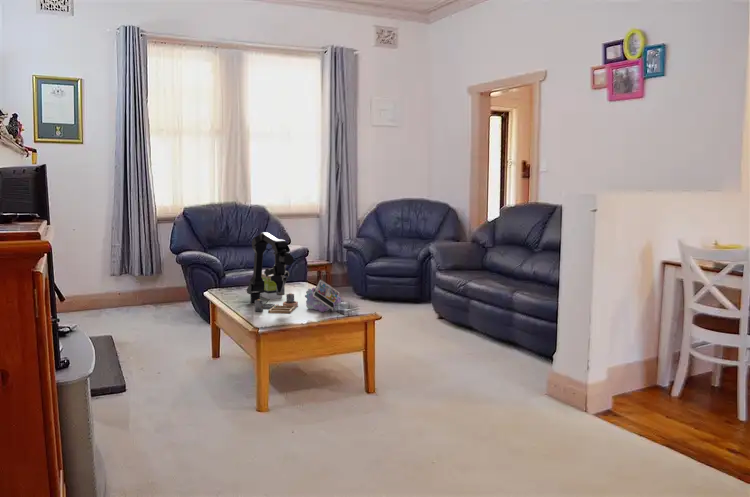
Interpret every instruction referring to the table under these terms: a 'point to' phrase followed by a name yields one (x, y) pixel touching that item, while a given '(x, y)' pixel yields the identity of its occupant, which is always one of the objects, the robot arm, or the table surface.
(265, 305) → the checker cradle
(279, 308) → the trough board
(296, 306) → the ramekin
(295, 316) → the table surface
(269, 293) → the tea box
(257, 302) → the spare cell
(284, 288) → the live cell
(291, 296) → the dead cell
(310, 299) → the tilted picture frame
